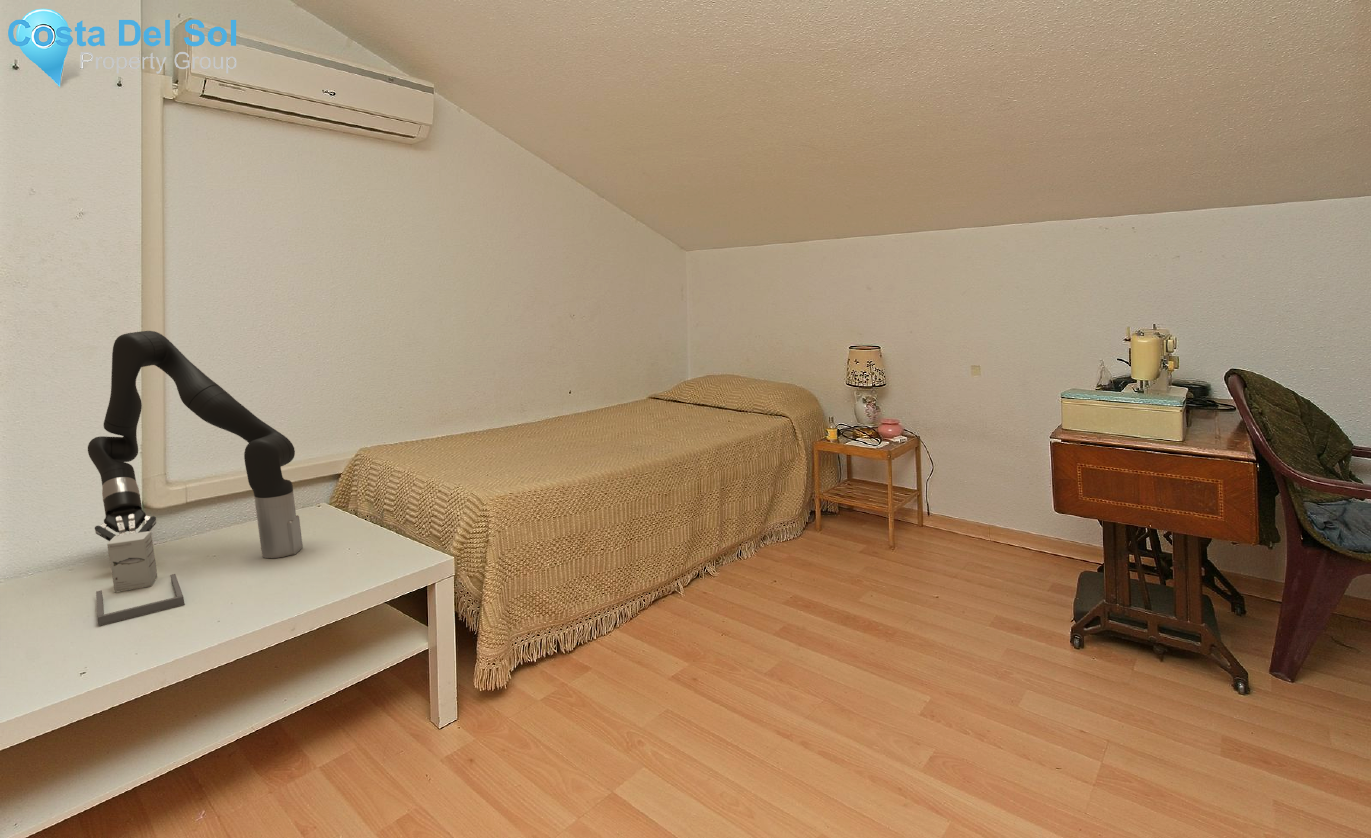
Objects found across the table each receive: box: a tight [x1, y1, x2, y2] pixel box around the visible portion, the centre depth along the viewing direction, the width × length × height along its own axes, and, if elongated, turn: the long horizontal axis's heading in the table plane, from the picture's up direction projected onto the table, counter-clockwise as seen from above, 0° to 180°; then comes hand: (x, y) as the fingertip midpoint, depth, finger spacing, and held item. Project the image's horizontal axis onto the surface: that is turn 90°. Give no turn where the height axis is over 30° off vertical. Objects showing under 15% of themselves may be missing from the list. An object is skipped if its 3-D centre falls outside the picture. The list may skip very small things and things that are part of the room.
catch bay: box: [95, 573, 185, 627], centre depth 154 cm, size 18×15×2 cm
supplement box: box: [107, 530, 158, 593], centre depth 163 cm, size 7×7×13 cm
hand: (131, 553), depth 169 cm, fingers closed
